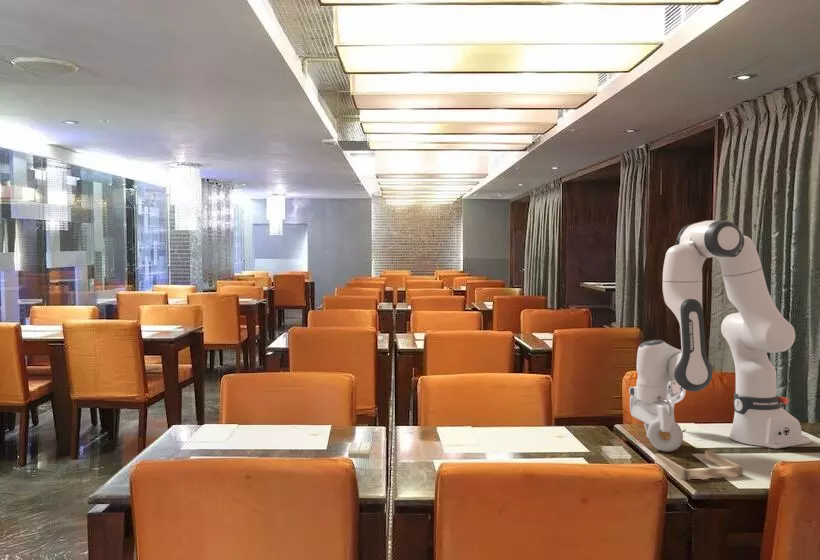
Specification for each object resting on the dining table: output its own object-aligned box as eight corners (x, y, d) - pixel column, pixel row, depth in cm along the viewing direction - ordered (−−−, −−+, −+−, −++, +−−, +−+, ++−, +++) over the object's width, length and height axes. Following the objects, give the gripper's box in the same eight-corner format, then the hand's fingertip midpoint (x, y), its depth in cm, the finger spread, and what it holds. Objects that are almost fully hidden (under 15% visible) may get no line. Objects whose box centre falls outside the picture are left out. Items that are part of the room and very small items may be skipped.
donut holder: (708, 458, 183) (708, 450, 183) (742, 476, 169) (742, 466, 169) (654, 462, 181) (654, 453, 181) (684, 480, 166) (684, 471, 166)
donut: (684, 452, 189) (684, 418, 189) (681, 455, 186) (681, 421, 186) (649, 447, 195) (649, 414, 194) (645, 449, 192) (645, 416, 192)
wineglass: (672, 433, 209) (672, 371, 208) (654, 427, 216) (654, 367, 215) (690, 430, 212) (691, 369, 211) (672, 424, 219) (672, 365, 218)
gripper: (680, 400, 188) (680, 448, 188) (644, 386, 208) (644, 429, 208) (660, 402, 187) (660, 449, 187) (626, 387, 207) (626, 430, 207)
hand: (651, 438), depth 198 cm, fingers closed
